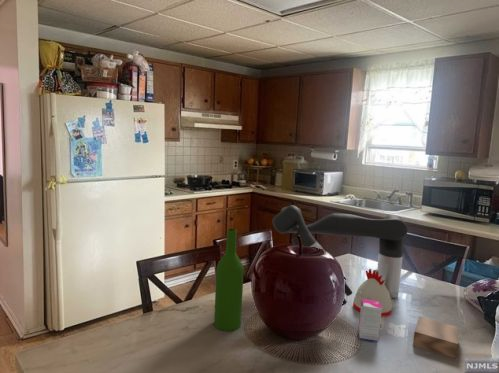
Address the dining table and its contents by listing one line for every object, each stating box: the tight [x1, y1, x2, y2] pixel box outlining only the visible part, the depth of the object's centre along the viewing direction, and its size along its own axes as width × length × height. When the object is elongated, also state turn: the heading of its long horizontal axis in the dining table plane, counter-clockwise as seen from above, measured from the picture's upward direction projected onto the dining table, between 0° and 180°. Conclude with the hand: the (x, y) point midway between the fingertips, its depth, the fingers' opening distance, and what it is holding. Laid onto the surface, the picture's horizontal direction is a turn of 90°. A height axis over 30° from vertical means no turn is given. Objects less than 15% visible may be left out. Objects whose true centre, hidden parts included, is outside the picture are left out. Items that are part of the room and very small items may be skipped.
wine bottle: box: [213, 228, 244, 332], centre depth 121 cm, size 9×9×32 cm
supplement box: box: [357, 299, 382, 343], centre depth 119 cm, size 6×6×12 cm
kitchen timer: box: [352, 268, 393, 318], centre depth 140 cm, size 14×14×15 cm
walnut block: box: [412, 316, 460, 359], centre depth 118 cm, size 12×12×5 cm
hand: (347, 299), depth 121 cm, fingers open, 8 cm apart
